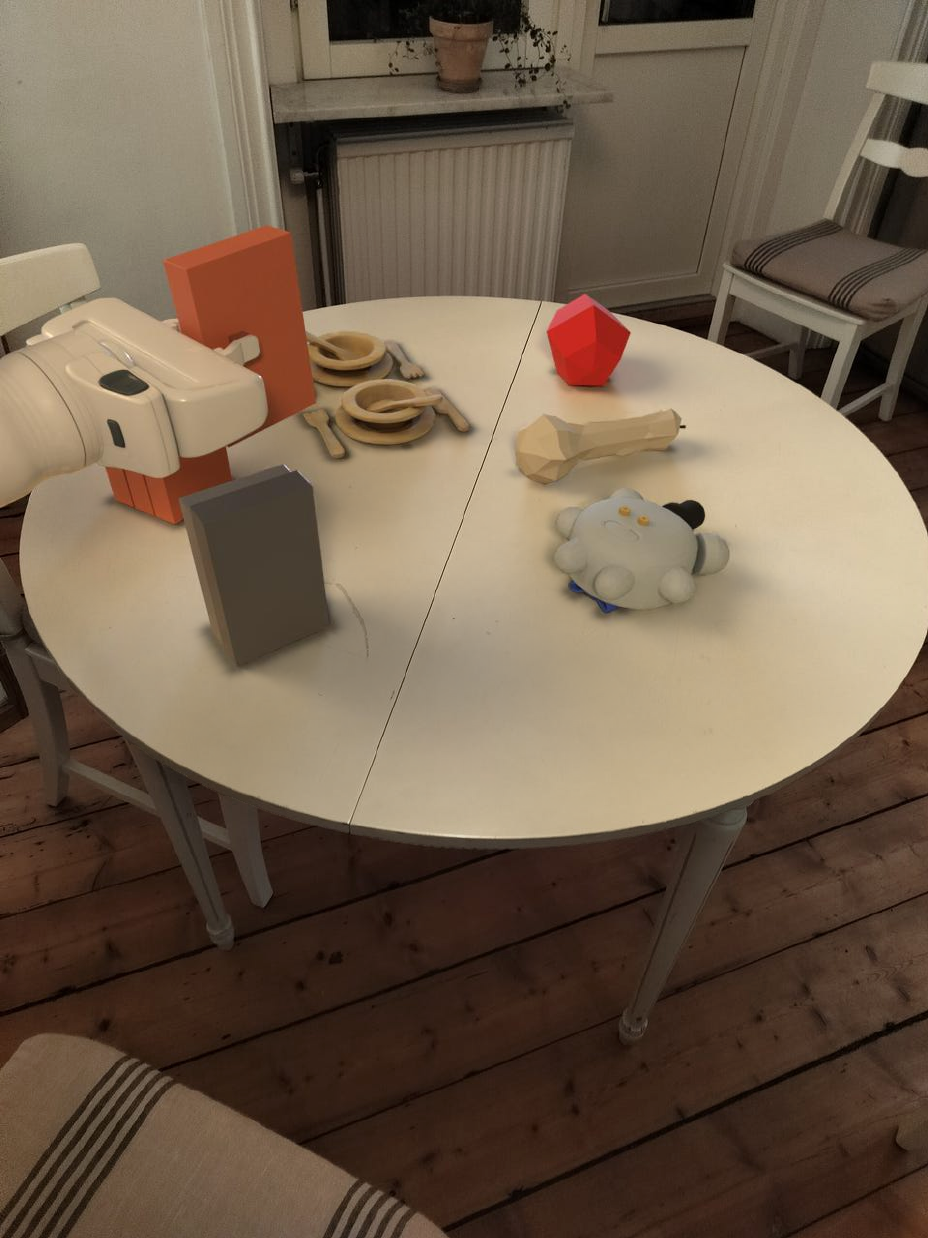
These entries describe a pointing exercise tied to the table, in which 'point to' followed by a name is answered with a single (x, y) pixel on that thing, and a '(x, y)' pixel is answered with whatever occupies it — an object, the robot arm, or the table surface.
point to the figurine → (637, 551)
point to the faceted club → (588, 441)
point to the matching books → (170, 484)
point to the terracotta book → (249, 311)
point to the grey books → (258, 561)
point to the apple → (586, 342)
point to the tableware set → (372, 392)
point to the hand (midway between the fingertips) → (236, 333)
